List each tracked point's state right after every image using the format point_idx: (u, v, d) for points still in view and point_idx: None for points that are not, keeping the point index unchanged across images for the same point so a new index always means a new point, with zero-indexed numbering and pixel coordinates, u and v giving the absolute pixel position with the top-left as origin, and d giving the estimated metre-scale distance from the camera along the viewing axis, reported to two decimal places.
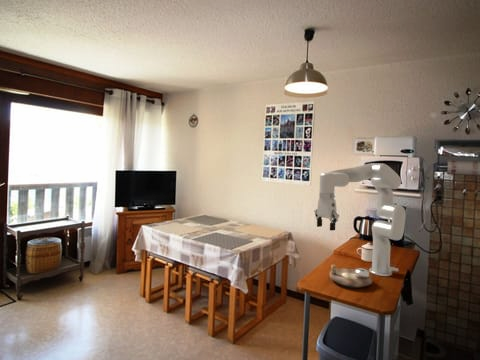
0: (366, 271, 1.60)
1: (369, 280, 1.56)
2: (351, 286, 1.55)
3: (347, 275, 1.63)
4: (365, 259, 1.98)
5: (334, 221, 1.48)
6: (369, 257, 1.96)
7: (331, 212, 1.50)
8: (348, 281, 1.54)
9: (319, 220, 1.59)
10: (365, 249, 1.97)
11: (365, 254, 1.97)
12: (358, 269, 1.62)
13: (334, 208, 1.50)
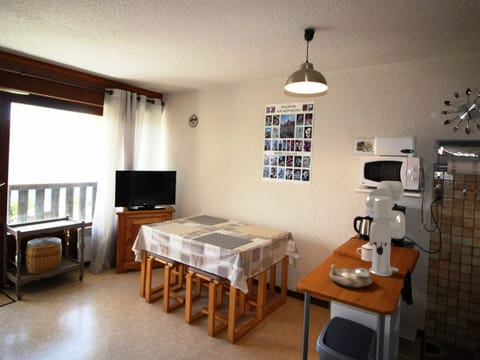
0: (366, 271, 1.60)
1: (369, 280, 1.56)
2: (351, 286, 1.55)
3: (347, 275, 1.63)
4: (365, 259, 1.98)
5: (385, 246, 1.56)
6: (369, 257, 1.96)
7: (391, 236, 1.55)
8: (348, 281, 1.54)
9: None
10: (365, 249, 1.97)
11: (365, 254, 1.97)
12: (358, 269, 1.62)
13: None
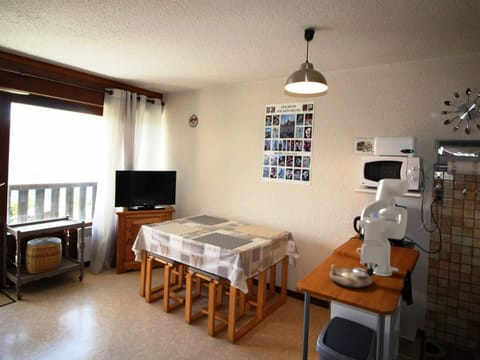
0: (363, 270, 1.60)
1: (369, 280, 1.56)
2: (351, 286, 1.55)
3: (347, 275, 1.63)
4: None
5: (375, 267, 1.58)
6: None
7: None
8: (348, 281, 1.54)
9: None
10: None
11: None
12: (356, 269, 1.62)
13: None
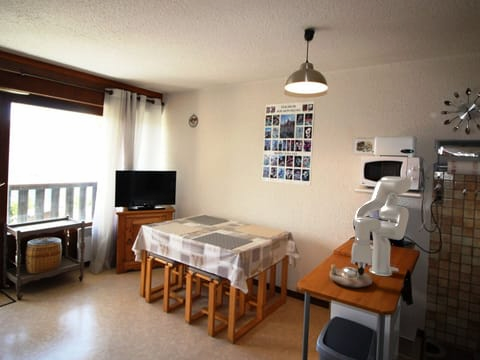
0: (354, 269, 1.61)
1: (369, 280, 1.56)
2: (351, 286, 1.55)
3: None
4: None
5: None
6: None
7: (371, 257, 1.58)
8: (348, 281, 1.54)
9: None
10: None
11: None
12: (346, 268, 1.64)
13: None
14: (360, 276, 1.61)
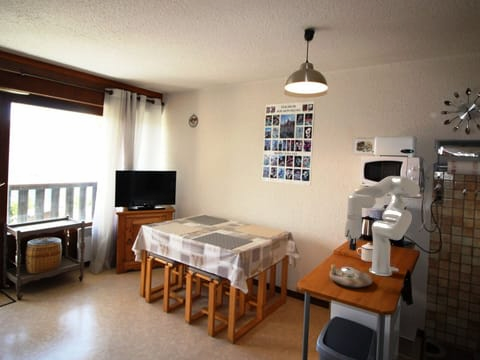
0: (352, 269, 1.62)
1: (369, 280, 1.56)
2: (351, 286, 1.55)
3: None
4: (365, 259, 1.98)
5: (356, 240, 1.64)
6: (369, 257, 1.96)
7: None
8: (348, 281, 1.54)
9: None
10: (365, 249, 1.97)
11: (365, 254, 1.97)
12: (344, 267, 1.64)
13: None
14: (360, 276, 1.61)
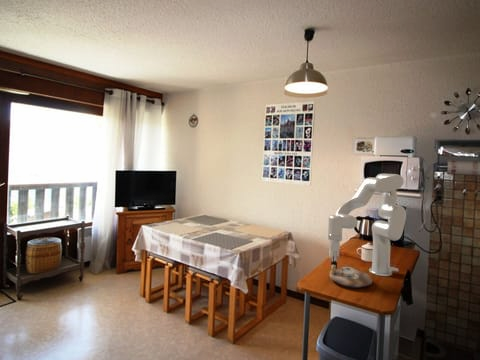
0: (352, 269, 1.62)
1: (369, 280, 1.56)
2: (351, 286, 1.55)
3: None
4: (365, 259, 1.98)
5: None
6: (369, 257, 1.96)
7: None
8: (348, 281, 1.54)
9: None
10: (365, 249, 1.97)
11: (365, 254, 1.97)
12: (344, 267, 1.64)
13: None
14: (360, 276, 1.61)
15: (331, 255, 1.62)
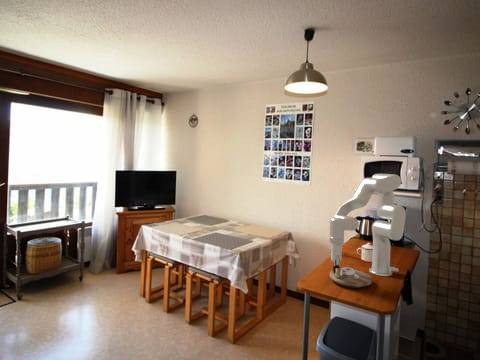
0: (351, 269, 1.62)
1: (368, 276, 1.62)
2: (351, 286, 1.55)
3: None
4: (365, 259, 1.98)
5: None
6: (369, 257, 1.96)
7: None
8: (359, 282, 1.53)
9: None
10: (365, 249, 1.97)
11: (365, 254, 1.97)
12: (344, 269, 1.62)
13: None
14: (357, 274, 1.64)
15: (333, 259, 1.57)
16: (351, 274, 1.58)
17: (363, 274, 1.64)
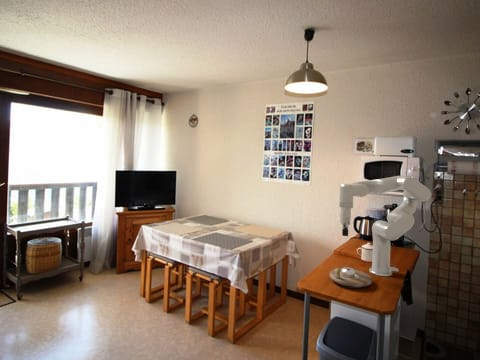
0: (351, 269, 1.62)
1: (368, 276, 1.62)
2: (351, 286, 1.55)
3: None
4: (365, 259, 1.98)
5: None
6: (369, 257, 1.96)
7: None
8: (359, 282, 1.53)
9: None
10: (365, 249, 1.97)
11: (365, 254, 1.97)
12: (344, 269, 1.62)
13: None
14: (357, 274, 1.64)
15: (343, 222, 1.68)
16: (351, 274, 1.58)
17: (363, 274, 1.64)
